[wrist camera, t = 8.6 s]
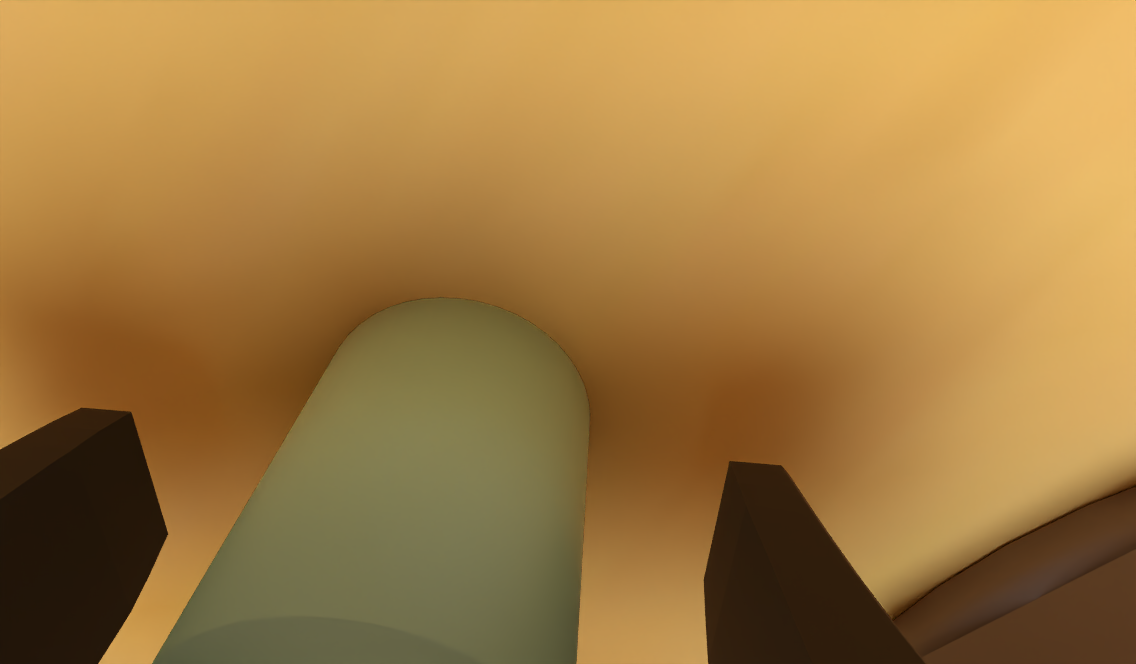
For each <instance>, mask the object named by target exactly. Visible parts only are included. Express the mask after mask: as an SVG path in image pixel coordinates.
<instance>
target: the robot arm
mask: <svg viewBox="0 0 1136 664" xmlns="http://www.w3.org/2000/svg"><path fill="white" fill-rule="evenodd" d="M167 535H168V532H167V529H166V525H165V522H164V519H163V515H162V512H161V509H160V505H159V502H158V499H157V496H156V492H155V489H154V486H153V482H152V479H151V476H150V472H149V469H148V466H147V462H146V459H145V456H144V453H143V449H142V446H141V443H140V439H139V436H138V433H137V429H136V426H135V423H134V419H133V416H132V413H131V412H126V411H114V410H101V409H89V408H80V409H78V410H76V411H74V412H72V413H70V414H68V415H66V416H63V417H61V418H59V419H57V420H55V421H53V422H51V423H49V424H47V425H45V426H44V427H42V428H40V429H38V430H36V431H34V432H32V433H30V434H28V435H26V436H25V437H23V438H21V439H19V440H17V441H15V442H13V443H12V444H10V445H8V446H6V447H4V448H2V449H1V450H0V664H98V663H99V662H100V660H101V658H102V657H103V655H104V654H105V652H106V651H107V649H108V647H109V646H110V644H111V643H112V641H113V640H114V638H115V637H116V635H117V633H118V632H119V630H120V629H121V627H122V625H123V624H124V622H125V621H126V619H127V617H128V616H129V614H130V612H131V611H132V609H133V607H134V605H135V603H136V601H137V599H138V597H139V595H140V593H141V591H142V589H143V587H144V585H145V583H146V581H147V579H148V577H149V575H150V573H151V570H152V568H153V566H154V564H155V562H156V559H157V557H158V555H159V553H160V551H161V548H162V546H163V544H164V542H165V540H166V537H167ZM704 595H705V616H706V635H707V651H708V664H926V663H925V661H924V660H923V659H922V658H921V656H920V655H919V654H918V653H917V651H916V650H915V649H914V648H913V646H912V645H911V644H910V642H909V641H908V640H907V639H906V637H905V636H904V635H903V634H902V632H901V631H900V630H899V629H898V627H897V626H896V625H895V623H894V622H893V621H892V619H891V618H890V617H889V615H888V614H887V613H886V611H885V610H884V609H883V607H882V606H881V605H880V603H879V602H878V601H877V599H876V598H875V597H874V595H873V594H872V593H871V592H870V590H869V589H868V588H867V586H866V585H865V584H864V582H863V581H862V580H861V578H860V577H859V575H858V574H857V573H856V571H855V570H854V569H853V567H852V566H851V564H850V563H849V562H848V560H847V559H846V557H845V556H844V555H843V553H842V552H841V550H840V549H839V547H838V546H837V545H836V543H835V542H834V540H833V539H832V537H831V536H830V535H829V533H828V532H827V530H826V529H825V527H824V526H823V525H822V523H821V522H820V520H819V519H818V517H817V516H816V514H815V513H814V511H813V510H812V508H811V507H810V505H809V504H808V502H807V501H806V499H805V498H804V496H803V495H802V493H801V492H800V490H799V489H798V488H797V486H796V485H795V483H794V482H793V480H792V479H791V477H790V476H789V474H788V473H787V472H786V470H785V469H784V468H783V467H782V466H781V465H769V464H757V463H745V462H733V461H730V462H729V467H728V471H727V476H726V480H725V485H724V490H723V494H722V499H721V503H720V508H719V512H718V517H717V522H716V526H715V531H714V535H713V540H712V544H711V549H710V554H709V558H708V563H707V567H706V572H705V577H704Z"/></svg>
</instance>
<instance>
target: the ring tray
mask: <svg viewBox="0 0 1136 664" xmlns="http://www.w3.org/2000/svg"><path fill="white" fill-rule="evenodd" d="M893 622H894V623H895V625H896V626H897V627H898V629H899V630H900V631H901V632H902V634H903V635H904V636H905V637H906V639H907V640H908V641H909V642H910V644H911V645H912V646H913V648H914V649H915V650H916V651H917V653H918V654H919V655H920V656H921V658H922V659H923V660H924V661H925V663H926V664H1136V487H1134V488H1131V489H1128V490H1126V491H1123V492H1121V493H1118V494H1116V495H1113V496H1111V497H1108V498H1105V499H1103V500H1100V501H1098V502H1095V503H1093V504H1090V505H1088V506H1085V507H1083V508H1081V509H1079V510H1077V511H1075V512H1073V513H1071V514H1069V515H1067V516H1065V517H1063V518H1061V519H1059V520H1057V521H1055V522H1053V523H1051V524H1049V525H1047V526H1045V527H1043V528H1041V529H1038V530H1036V531H1034V532H1032V533H1030V534H1028V535H1026V536H1024V537H1022V538H1020V539H1018V540H1016V541H1014V542H1012V543H1010V544H1008V545H1006V546H1004V547H1003V548H1001V549H999V550H998V551H996V552H994V553H993V554H991V555H989V556H988V557H986V558H985V559H983V560H981V561H980V562H978V563H976V564H975V565H973V566H971V567H970V568H968V569H966V570H965V571H963V572H962V573H960V574H958V575H957V576H955V577H953V578H952V579H950V580H948V581H947V582H945V583H943V584H942V585H940V586H939V587H937V588H936V589H934V590H933V591H932V592H931V593H929V594H928V595H927V596H925V597H924V598H923V599H921V600H920V601H919V602H917V603H916V604H915V605H913V606H912V607H911V608H909V609H908V610H907V611H905V612H904V613H903V614H902V615H900V616H899V617H898V618H896V619H895V620H894V621H893Z"/></svg>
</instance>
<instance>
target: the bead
mask: <svg viewBox="0 0 1136 664" xmlns="http://www.w3.org/2000/svg"><path fill="white" fill-rule="evenodd" d="M589 430H590V408H589V400H588V396H587V393H586V389H585V386H584V383H583V381H582V379H581V377H580V375H579V372H578V370H577V369H576V367H575V366H574V364H573V363H572V361H571V360H570V358H569V357H568V356H567V354H566V353H565V352H564V351H563V350H562V349H561V347H560V346H559V345H558V344H557V343H556V342H555V341H554V340H552V339H551V338H550V337H549V336H548V335H547V334H546V333H545V332H543V331H542V330H540V329H539V328H537V327H536V326H535V325H533V324H532V323H530V322H529V321H527V320H525V319H523V318H521V317H519V316H517V315H516V314H514V313H511V312H509V311H506V310H504V309H501V308H499V307H496V306H493V305H489V304H486V303H482V302H478V301H472V300H466V299H460V298H427V299H419V300H414V301H409V302H404V303H401V304H398V305H395V306H392V307H389V308H386V309H384V310H382V311H380V312H378V313H376V314H374V315H372V316H371V317H370V318H368V319H367V320H365V321H364V322H362V323H361V324H359V325H358V326H357V327H356V328H355V329H354V330H353V331H352V332H351V333H350V334H349V335H348V336H347V337H346V339H345V340H344V341H343V343H342V344H341V345H340V347H339V348H338V350H337V352H336V353H335V355H334V357H333V358H332V360H331V362H330V363H329V365H328V367H327V368H326V370H325V372H324V374H323V375H322V377H321V379H320V380H319V382H318V384H317V385H316V387H315V389H314V390H313V392H312V394H311V396H310V397H309V399H308V401H307V402H306V404H305V406H304V407H303V409H302V411H301V412H300V414H299V416H298V418H297V419H296V421H295V423H294V424H293V426H292V428H291V429H290V431H289V433H288V434H287V436H286V438H285V440H284V441H283V443H282V445H281V446H280V448H279V450H278V451H277V453H276V455H275V456H274V458H273V460H272V462H271V463H270V465H269V467H268V468H267V470H266V472H265V473H264V475H263V477H262V478H261V480H260V482H259V484H258V485H257V487H256V489H255V490H254V492H253V494H252V495H251V497H250V499H249V500H248V502H247V504H246V506H245V507H244V509H243V511H242V512H241V514H240V516H239V517H238V519H237V521H236V522H235V524H234V526H233V528H232V529H231V531H230V533H229V534H228V536H227V538H226V539H225V541H224V543H223V544H222V546H221V548H220V550H219V551H218V553H217V555H216V556H215V558H214V560H213V561H212V563H211V565H210V566H209V568H208V570H207V572H206V573H205V575H204V577H203V578H202V580H201V582H200V583H199V585H198V587H197V588H196V590H195V592H194V594H193V595H192V597H191V599H190V600H189V602H188V604H187V605H186V607H185V609H184V610H183V612H182V614H181V616H180V617H179V619H178V621H177V622H176V624H175V626H174V627H173V629H172V631H171V632H170V634H169V636H168V638H167V639H166V641H165V643H164V644H163V646H162V648H161V649H160V651H159V653H158V654H157V656H156V658H155V659H154V661H153V663H152V664H576V661H577V643H578V625H579V608H580V590H581V572H582V554H583V537H584V519H585V501H586V484H587V466H588V448H589Z"/></svg>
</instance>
